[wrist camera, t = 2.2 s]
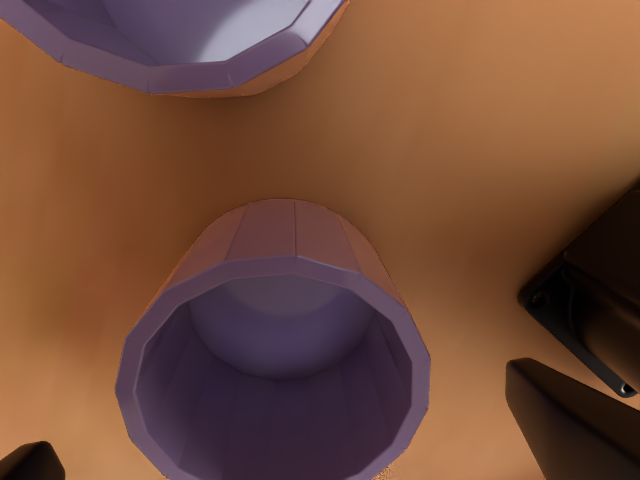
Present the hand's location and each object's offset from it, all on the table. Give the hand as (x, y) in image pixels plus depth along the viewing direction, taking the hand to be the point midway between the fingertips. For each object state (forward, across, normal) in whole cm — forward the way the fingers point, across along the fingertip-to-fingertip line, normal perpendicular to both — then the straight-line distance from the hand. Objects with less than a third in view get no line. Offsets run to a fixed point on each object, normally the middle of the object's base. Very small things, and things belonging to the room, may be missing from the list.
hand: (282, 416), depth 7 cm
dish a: (+5, 0, 0) cm, 5 cm away
